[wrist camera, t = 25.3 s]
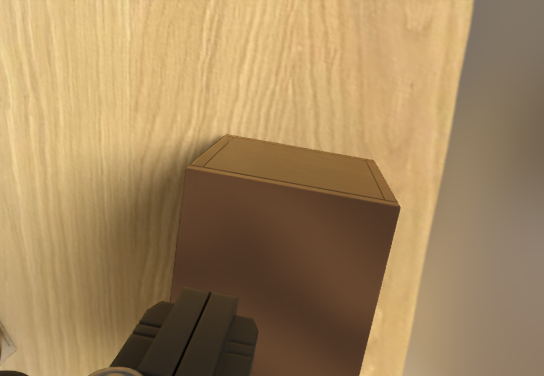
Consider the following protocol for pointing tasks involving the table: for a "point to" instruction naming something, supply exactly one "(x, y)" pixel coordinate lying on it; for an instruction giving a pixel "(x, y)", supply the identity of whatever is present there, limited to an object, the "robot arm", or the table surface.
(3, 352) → the coffee box
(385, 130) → the table surface
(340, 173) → the chest
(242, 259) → the lid
